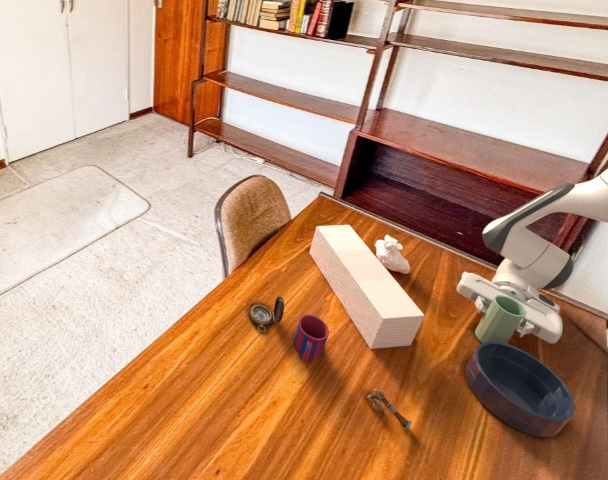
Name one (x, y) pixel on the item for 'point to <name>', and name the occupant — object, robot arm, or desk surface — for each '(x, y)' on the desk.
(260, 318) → the compass
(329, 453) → the desk surface
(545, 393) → the wash bowl
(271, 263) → the desk surface
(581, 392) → the desk surface
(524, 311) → the green cup
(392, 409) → the brown grey jointed rod
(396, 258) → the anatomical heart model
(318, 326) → the mug
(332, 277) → the stack of papers
